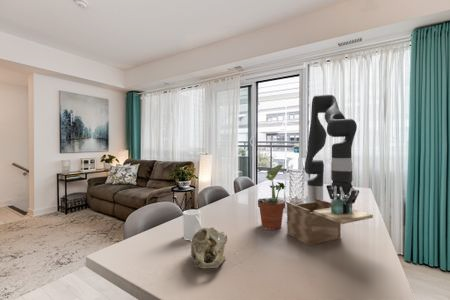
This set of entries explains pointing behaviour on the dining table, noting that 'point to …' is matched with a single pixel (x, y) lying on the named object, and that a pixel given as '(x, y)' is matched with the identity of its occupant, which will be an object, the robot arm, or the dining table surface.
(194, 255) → the skull
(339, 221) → the lid
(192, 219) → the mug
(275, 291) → the dining table surface
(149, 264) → the dining table surface
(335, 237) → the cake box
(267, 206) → the potted plant
